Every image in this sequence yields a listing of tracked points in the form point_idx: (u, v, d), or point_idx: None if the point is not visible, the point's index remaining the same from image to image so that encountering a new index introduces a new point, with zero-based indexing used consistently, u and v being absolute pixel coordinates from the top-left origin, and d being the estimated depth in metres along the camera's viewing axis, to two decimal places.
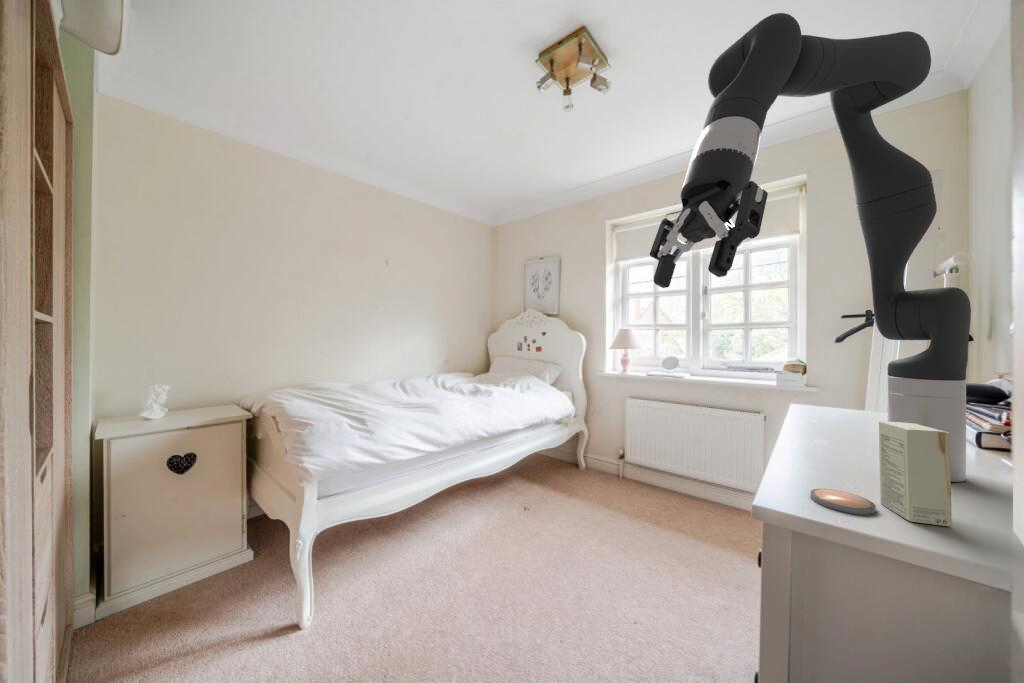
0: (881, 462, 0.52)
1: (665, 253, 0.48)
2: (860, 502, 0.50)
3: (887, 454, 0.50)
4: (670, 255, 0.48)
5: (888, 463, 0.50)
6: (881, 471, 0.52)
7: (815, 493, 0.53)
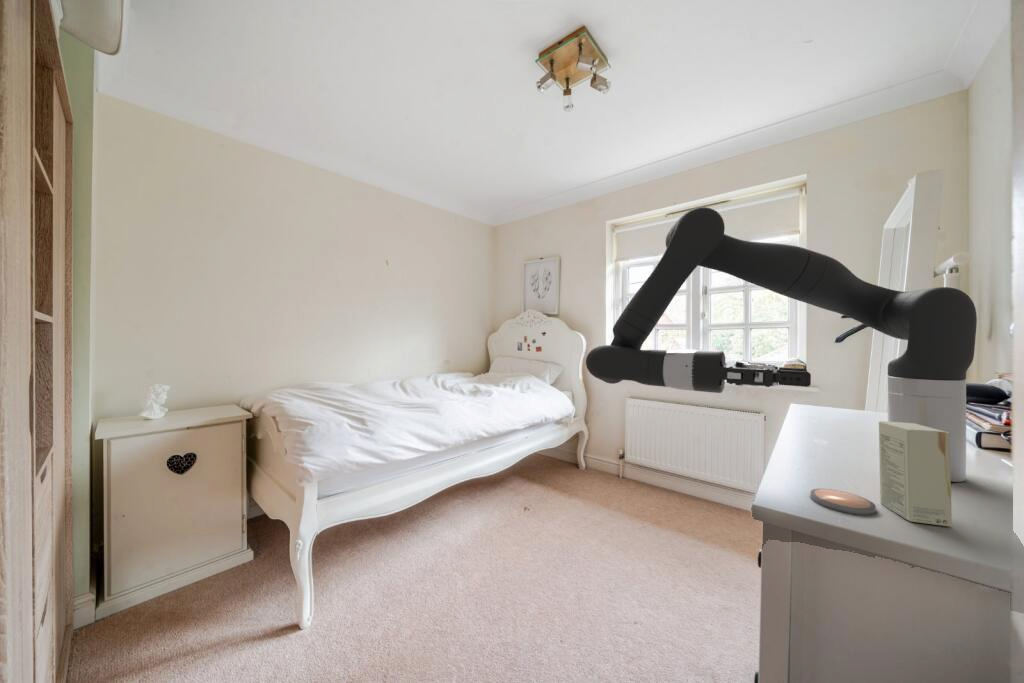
0: (881, 462, 0.52)
1: None
2: (860, 502, 0.50)
3: (887, 454, 0.50)
4: None
5: (888, 463, 0.50)
6: (881, 471, 0.52)
7: (815, 493, 0.53)
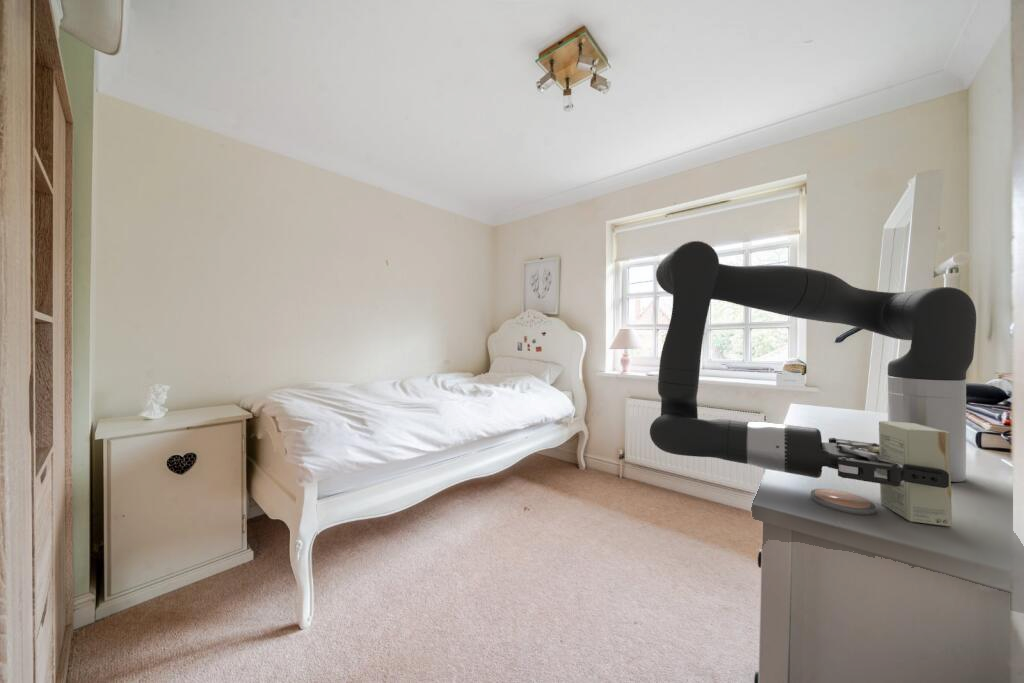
0: None
1: None
2: (860, 502, 0.50)
3: (887, 454, 0.50)
4: None
5: None
6: None
7: (815, 493, 0.53)
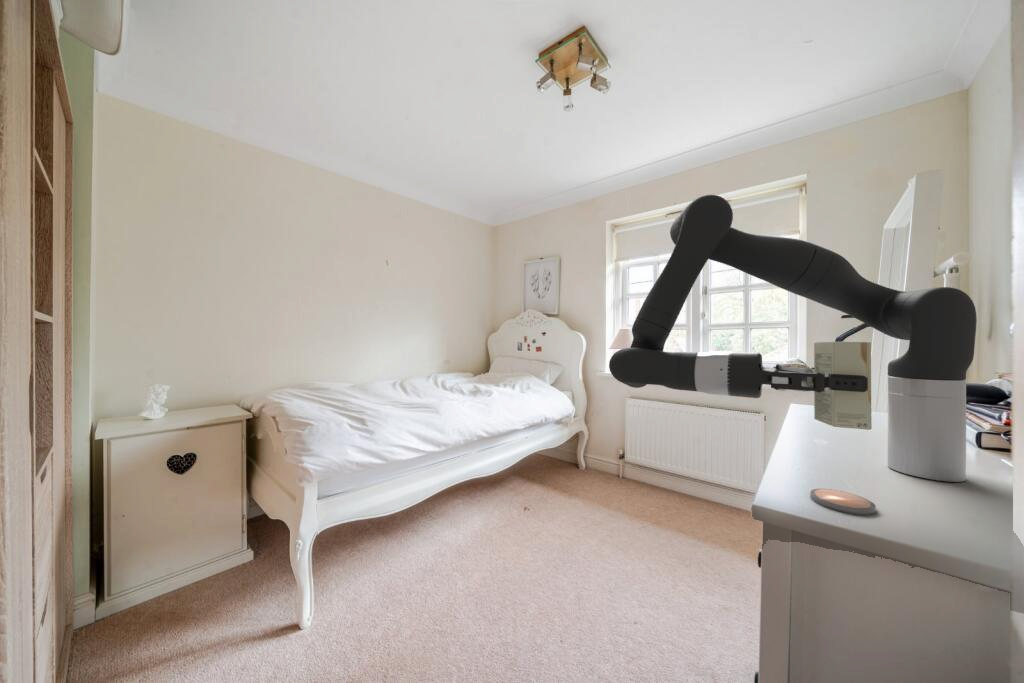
0: None
1: None
2: (860, 502, 0.50)
3: (819, 370, 0.53)
4: None
5: None
6: None
7: (815, 493, 0.53)
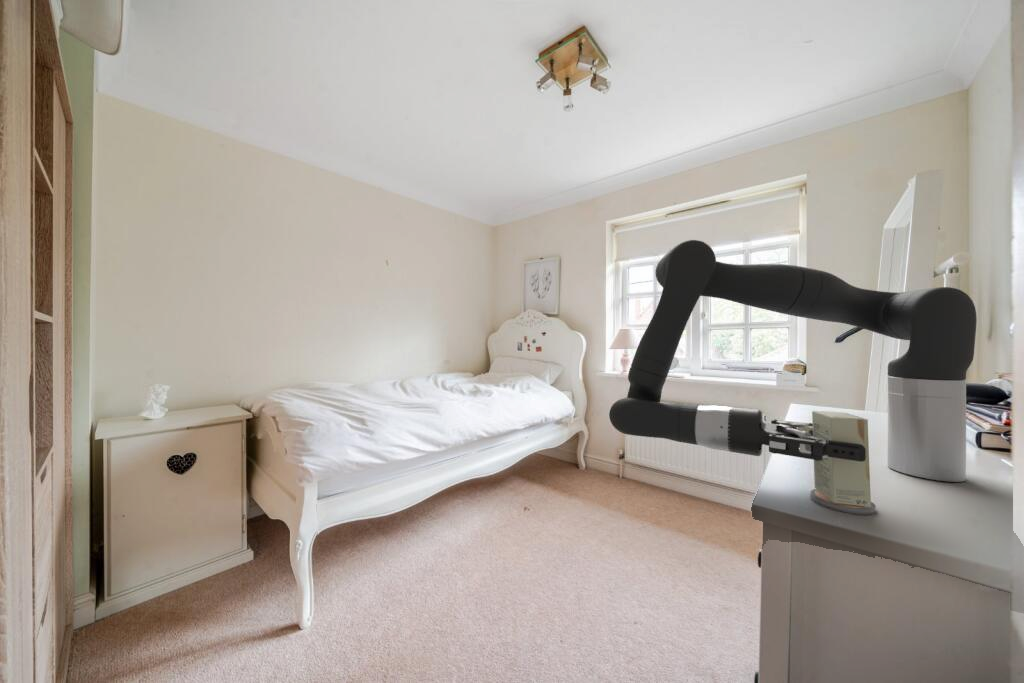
0: None
1: None
2: None
3: None
4: None
5: None
6: None
7: (815, 493, 0.53)
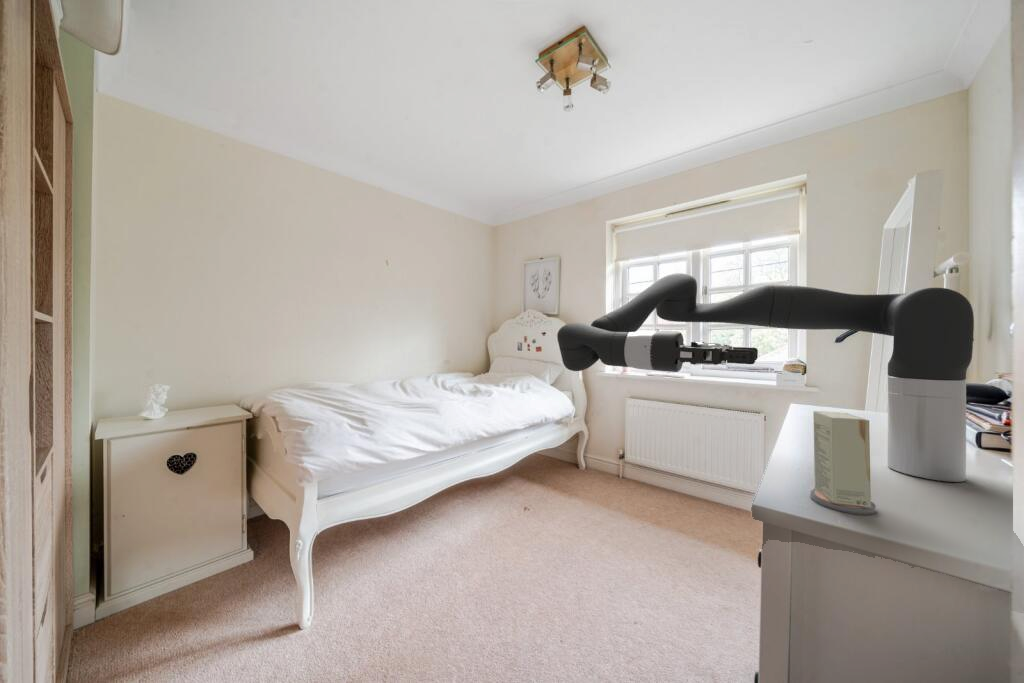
0: (815, 449, 0.55)
1: None
2: None
3: (819, 441, 0.54)
4: None
5: (819, 450, 0.53)
6: (815, 458, 0.55)
7: (815, 493, 0.53)
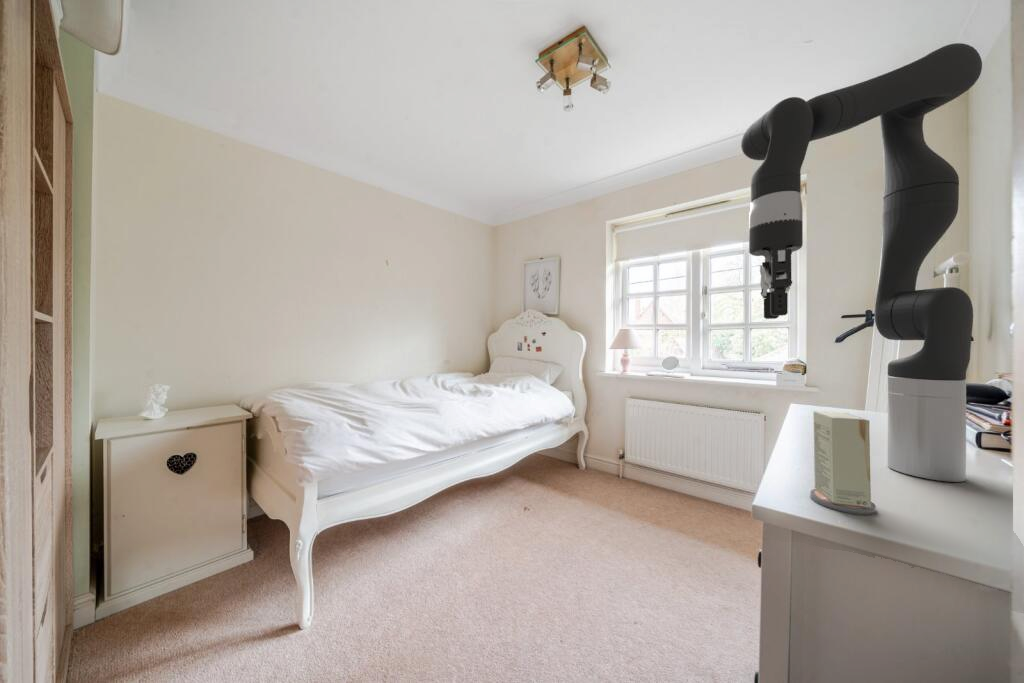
0: (815, 449, 0.55)
1: (764, 295, 0.66)
2: None
3: (819, 441, 0.54)
4: (771, 294, 0.65)
5: (819, 450, 0.53)
6: (815, 458, 0.55)
7: (815, 493, 0.53)
